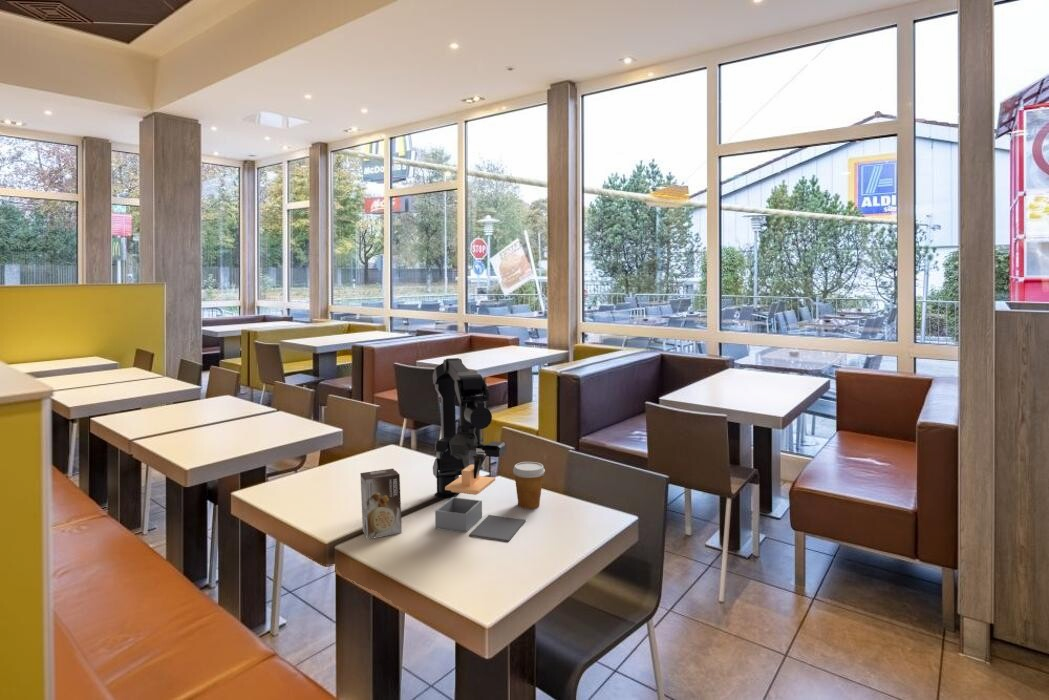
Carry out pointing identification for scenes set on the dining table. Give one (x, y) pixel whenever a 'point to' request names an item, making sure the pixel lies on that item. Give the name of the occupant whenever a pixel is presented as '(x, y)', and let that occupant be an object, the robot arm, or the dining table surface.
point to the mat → (498, 528)
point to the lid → (469, 482)
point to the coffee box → (381, 503)
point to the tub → (458, 514)
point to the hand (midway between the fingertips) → (470, 477)
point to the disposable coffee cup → (528, 483)
